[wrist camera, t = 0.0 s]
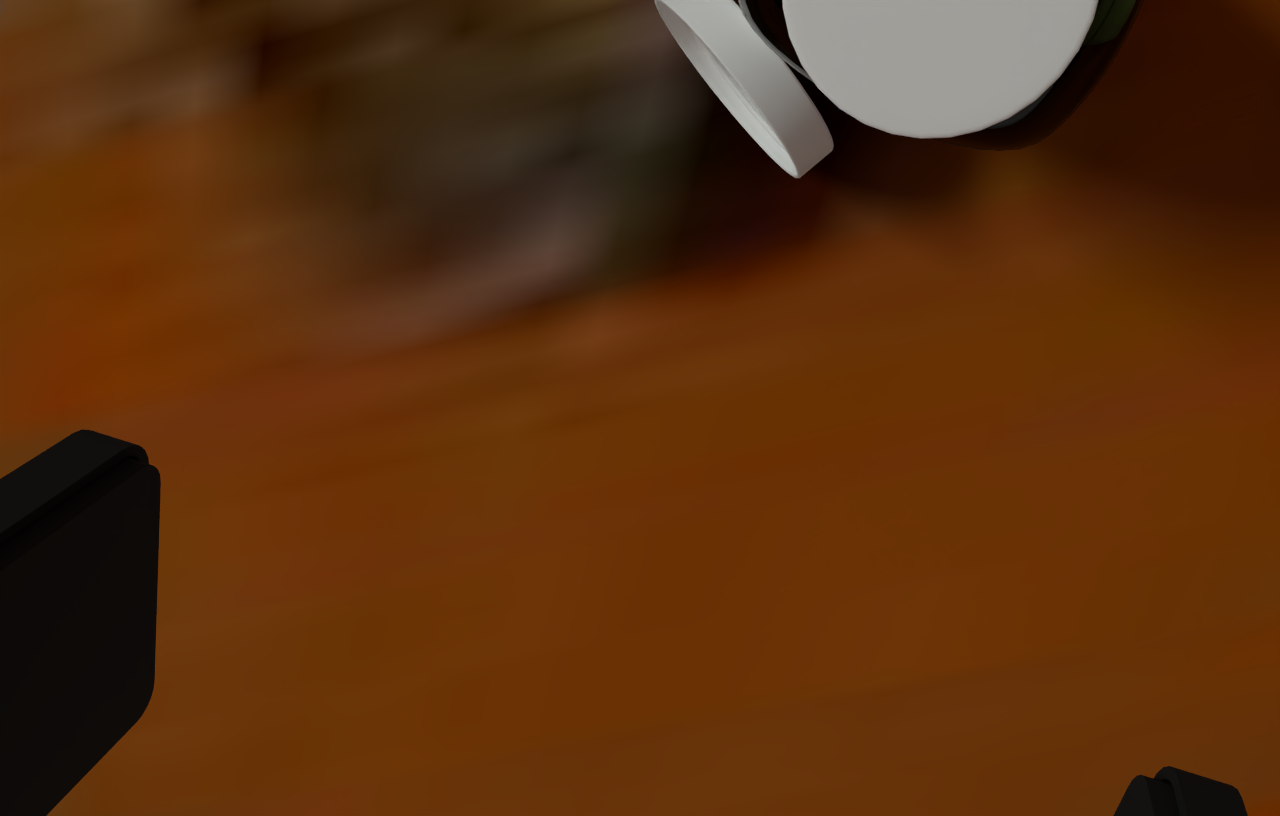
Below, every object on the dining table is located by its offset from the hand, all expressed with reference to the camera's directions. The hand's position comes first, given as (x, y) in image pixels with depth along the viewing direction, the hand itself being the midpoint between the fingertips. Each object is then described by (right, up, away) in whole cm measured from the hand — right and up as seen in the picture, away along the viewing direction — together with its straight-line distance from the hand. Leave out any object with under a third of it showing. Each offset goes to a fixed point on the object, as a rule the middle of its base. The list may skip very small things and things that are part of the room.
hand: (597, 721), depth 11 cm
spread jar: (+8, +16, +26) cm, 32 cm away
